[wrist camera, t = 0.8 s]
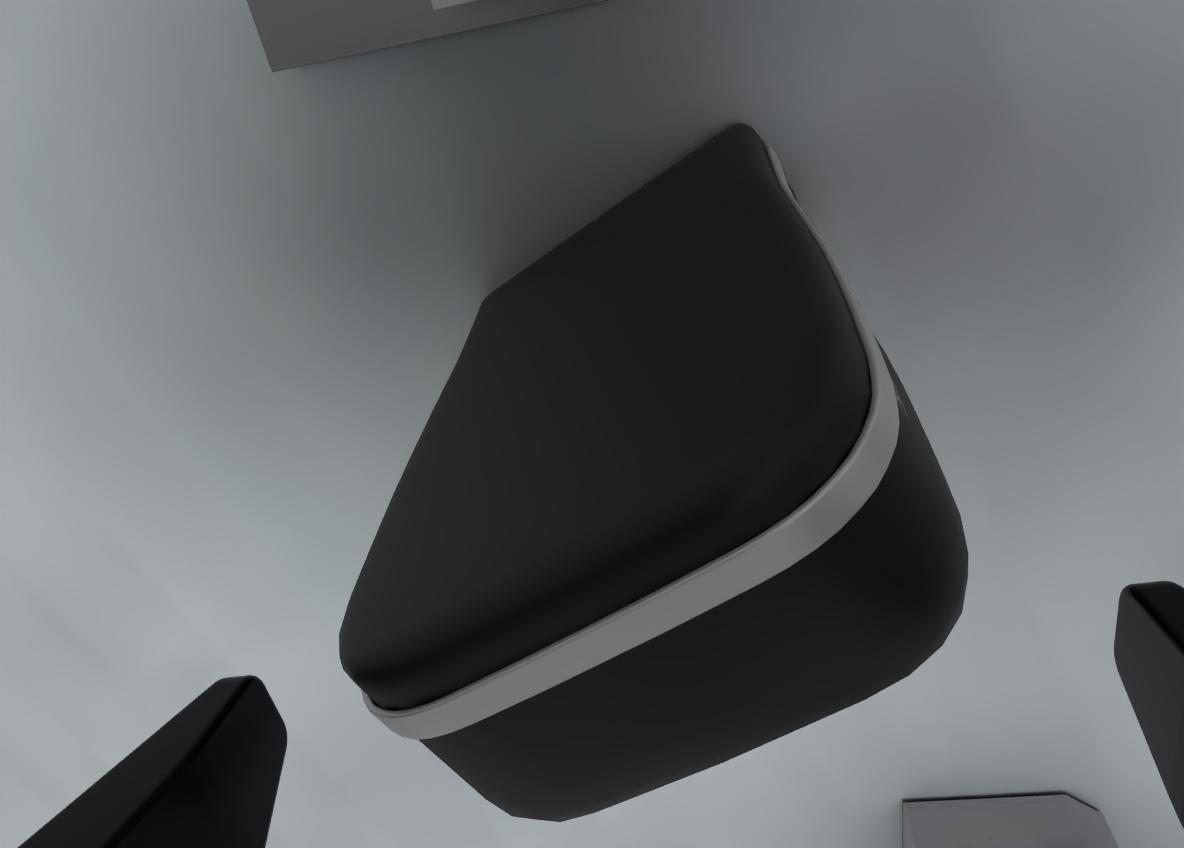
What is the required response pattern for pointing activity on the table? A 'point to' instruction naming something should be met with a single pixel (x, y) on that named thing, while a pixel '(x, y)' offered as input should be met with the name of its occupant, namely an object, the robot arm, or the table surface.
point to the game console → (1005, 824)
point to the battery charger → (657, 507)
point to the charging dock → (376, 24)
